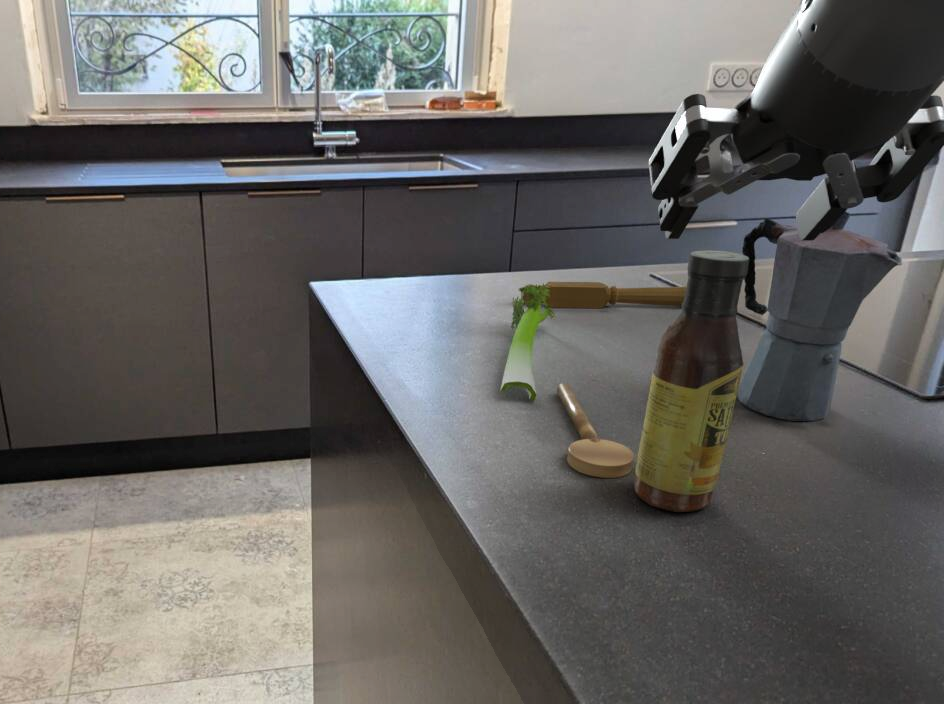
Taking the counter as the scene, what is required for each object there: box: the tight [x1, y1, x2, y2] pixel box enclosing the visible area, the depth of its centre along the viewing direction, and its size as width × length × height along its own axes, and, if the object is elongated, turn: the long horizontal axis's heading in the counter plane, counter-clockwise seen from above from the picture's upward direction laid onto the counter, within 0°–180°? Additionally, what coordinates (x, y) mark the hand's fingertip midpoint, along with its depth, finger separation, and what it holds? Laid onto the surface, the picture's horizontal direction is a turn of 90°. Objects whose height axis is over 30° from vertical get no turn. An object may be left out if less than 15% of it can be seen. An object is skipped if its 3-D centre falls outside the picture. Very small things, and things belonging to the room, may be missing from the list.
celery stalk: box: [500, 283, 556, 403], centre depth 99 cm, size 6×7×30 cm
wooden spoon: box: [556, 382, 635, 479], centre depth 80 cm, size 20×6×1 cm, turn 178°
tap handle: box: [520, 281, 687, 309], centre depth 120 cm, size 3×3×30 cm
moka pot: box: [736, 211, 903, 422], centre depth 82 cm, size 10×15×20 cm, turn 36°
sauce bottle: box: [633, 250, 749, 513], centre depth 64 cm, size 7×6×20 cm
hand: (736, 228), depth 53 cm, fingers open, 8 cm apart
